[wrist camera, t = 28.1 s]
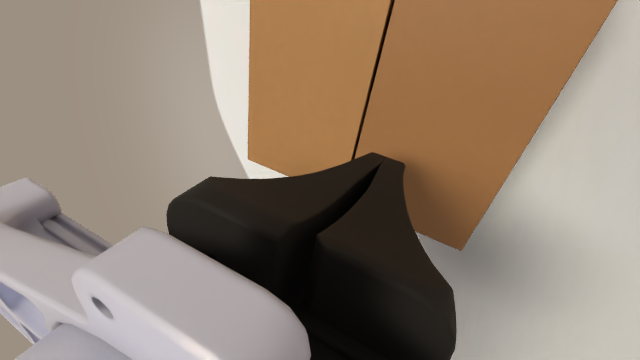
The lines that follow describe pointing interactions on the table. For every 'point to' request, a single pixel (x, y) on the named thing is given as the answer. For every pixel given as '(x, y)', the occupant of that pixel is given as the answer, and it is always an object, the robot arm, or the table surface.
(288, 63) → the flap
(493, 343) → the table surface
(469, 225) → the carton
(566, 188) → the table surface
